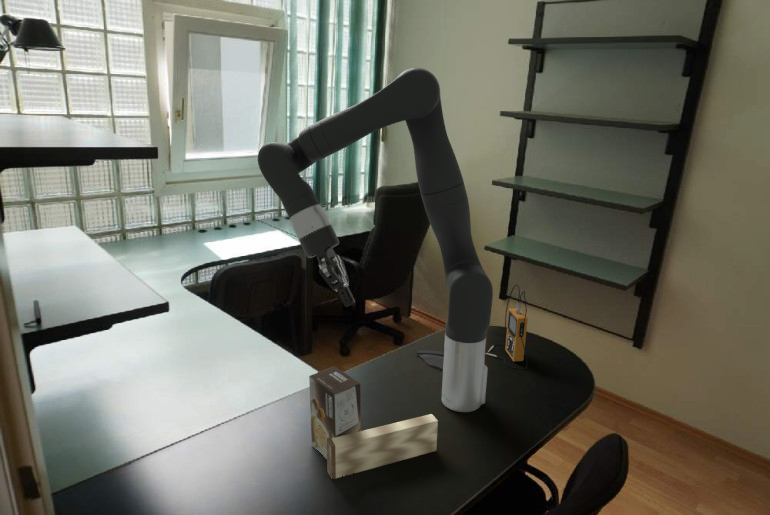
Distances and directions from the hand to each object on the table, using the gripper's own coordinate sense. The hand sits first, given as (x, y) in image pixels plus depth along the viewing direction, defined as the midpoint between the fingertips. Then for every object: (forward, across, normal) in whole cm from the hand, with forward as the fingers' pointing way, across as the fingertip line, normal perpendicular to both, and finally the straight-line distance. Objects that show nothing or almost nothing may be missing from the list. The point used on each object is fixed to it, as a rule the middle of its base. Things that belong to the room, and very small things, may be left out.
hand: (350, 304), depth 109 cm
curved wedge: (+28, +32, -8) cm, 43 cm away
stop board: (+30, -9, +5) cm, 32 cm away
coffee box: (+25, -8, +14) cm, 29 cm away
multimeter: (+34, +37, -22) cm, 55 cm away
